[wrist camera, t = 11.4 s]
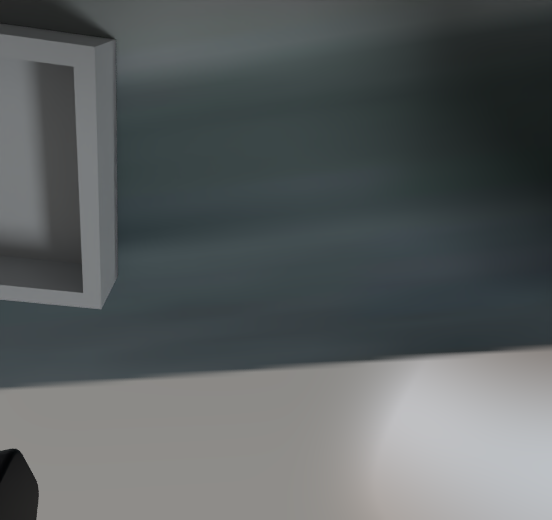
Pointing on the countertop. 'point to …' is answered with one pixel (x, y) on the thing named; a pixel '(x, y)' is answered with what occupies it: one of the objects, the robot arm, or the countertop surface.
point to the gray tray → (57, 167)
